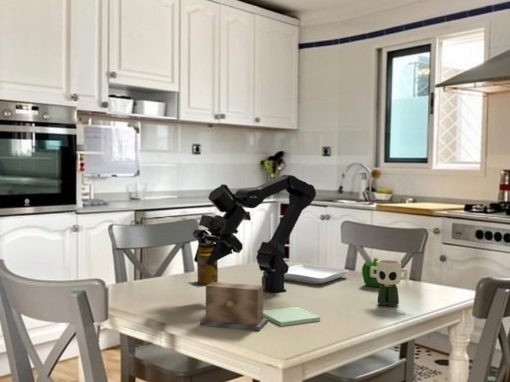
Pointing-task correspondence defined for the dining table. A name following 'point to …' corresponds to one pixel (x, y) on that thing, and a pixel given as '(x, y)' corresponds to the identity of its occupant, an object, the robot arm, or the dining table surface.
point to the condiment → (205, 266)
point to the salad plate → (313, 274)
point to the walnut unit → (234, 306)
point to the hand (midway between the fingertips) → (201, 262)
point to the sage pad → (290, 316)
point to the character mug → (388, 280)
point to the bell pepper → (366, 274)
